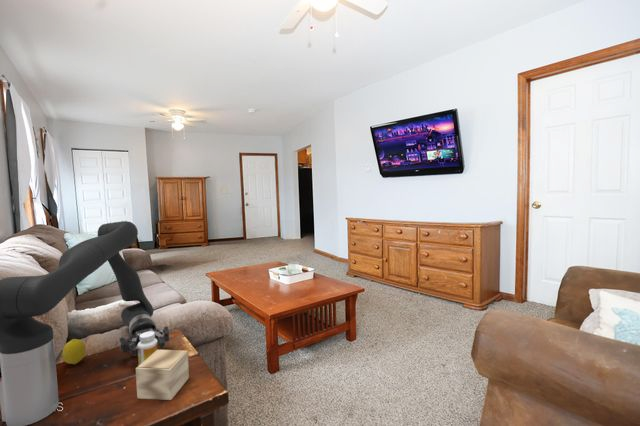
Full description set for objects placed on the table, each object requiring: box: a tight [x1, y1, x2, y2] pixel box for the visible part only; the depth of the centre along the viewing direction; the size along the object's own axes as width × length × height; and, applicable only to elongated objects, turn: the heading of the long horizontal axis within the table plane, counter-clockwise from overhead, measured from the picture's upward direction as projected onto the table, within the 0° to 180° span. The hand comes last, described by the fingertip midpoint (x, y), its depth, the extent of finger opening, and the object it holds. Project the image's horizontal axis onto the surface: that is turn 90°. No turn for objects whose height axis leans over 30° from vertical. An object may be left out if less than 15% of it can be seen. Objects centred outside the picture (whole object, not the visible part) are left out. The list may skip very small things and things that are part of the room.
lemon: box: [61, 338, 87, 365], centre depth 93 cm, size 6×6×8 cm
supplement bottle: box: [136, 331, 159, 367], centre depth 92 cm, size 5×5×10 cm
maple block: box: [135, 349, 190, 401], centre depth 82 cm, size 9×9×8 cm
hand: (148, 349), depth 90 cm, fingers open, 6 cm apart
